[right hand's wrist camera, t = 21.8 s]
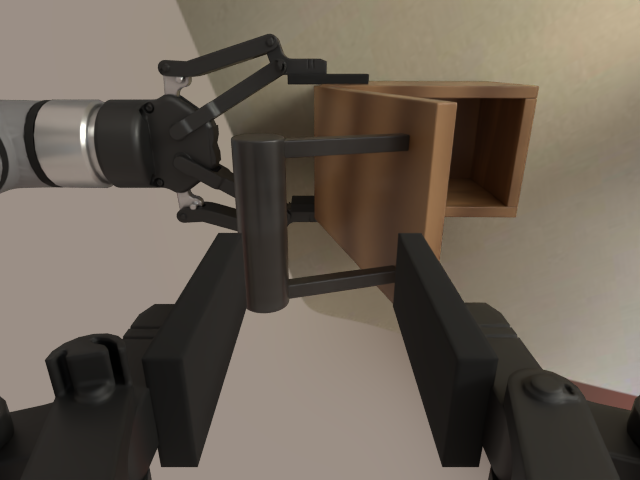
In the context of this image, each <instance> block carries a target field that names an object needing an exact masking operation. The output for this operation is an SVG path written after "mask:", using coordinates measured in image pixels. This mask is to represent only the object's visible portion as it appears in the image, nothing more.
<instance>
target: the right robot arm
mask: <svg viewBox="0 0 640 480" xmlns="http://www.w3.org/2000/svg"><path fill="white" fill-rule="evenodd" d="M246 308H247V300H246V286H245V272H244V258H243V244H242V233H218V235H217V236H216V238H215V240H214V241H213V243H212V245H211V246H210V248H209V249H208V251H207V253H206V254H205V256H204V258H203V259H202V261H201V262H200V264H199V266H198V267H197V269H196V270H195V272H194V274H193V275H192V277H191V279H190V280H189V282H188V283H187V285H186V287H185V289H184V290H183V292H182V293H181V295H180V297H179V298H178V300H177V301H176V303H175V304H154V305H153V306H151V307H150V308H148V309H147V310H145V311H144V312H142V313H141V314H139V316H138V317H137V318H136V320H135V321H134V322H133V324H132V325H131V328H130V329H128V331H127V332H126V333H125V335H124V336H123V339H121V338H120V337H119V336H116V335H112V334H91V335H87V336H83V337H78V338H76V339H74V340H71V341H69V342H66V343H64V344H63V345H61V346H60V347H58V348H57V349H55V350H54V351H52V352H51V354H50V355H49V356H48V357H47V358H46V360H45V362H46V366H47V369H48V372H49V376H50V380H51V383H52V387H53V390H54V394H55V400H54V402H53V403H49V404H46V405H42V406H37V407H33V408H28V409H23V410H18V411H14V412H9V410H8V407H7V404H6V401H5V400H4V399H3V398H1V397H0V480H152V479H151V473H150V468H149V466H150V464H151V462H152V459H153V457H154V455H155V452H156V450H157V448H158V452H159V458H160V463H161V467H198V464H199V461H200V457H201V454H202V451H203V448H204V444H205V441H206V438H207V435H208V431H209V428H210V425H211V421H212V418H213V415H214V412H215V409H216V405H217V402H218V399H219V395H220V392H221V389H222V386H223V382H224V379H225V376H226V373H227V369H228V366H229V363H230V360H231V356H232V353H233V350H234V347H235V343H236V340H237V337H238V334H239V330H240V327H241V324H242V321H243V317H244V314H245V311H246ZM393 308H394V311H395V314H396V317H397V321H398V324H399V327H400V330H401V334H402V337H403V340H404V343H405V347H406V350H407V353H408V356H409V360H410V363H411V366H412V369H413V373H414V376H415V379H416V382H417V385H418V389H419V392H420V395H421V399H422V402H423V405H424V409H425V412H426V415H427V418H428V422H429V425H430V428H431V431H432V434H433V438H434V441H435V444H436V448H437V451H438V454H439V457H440V461H441V464H442V467H479V463H480V458H481V452H482V447H483V448H484V450H485V452H486V455H487V457H488V459H489V462H490V464H491V468H490V473H489V478H488V480H640V395H639V396H638V397H637V398H636V399H635V401H634V404H633V407H632V410H631V411H630V410H626V409H621V408H617V407H612V406H607V405H603V404H598V403H594V402H591V401H587V400H586V399H585V397H584V395H583V394H582V392H581V391H580V390H579V388H578V387H577V386H576V385H574V384H573V383H572V382H570V381H569V380H568V379H566V378H564V377H562V376H560V375H558V374H556V373H554V372H550V371H547V370H543V369H542V368H541V367H540V365H539V364H538V363H537V361H536V360H535V359H534V357H533V356H532V354H531V353H530V352H529V350H528V349H527V348H526V346H525V345H524V344H523V342H522V341H521V340H520V338H517V334H516V333H515V331H514V330H513V329H512V327H510V325H509V323H508V322H507V321H506V319H505V318H504V317H503V315H502V314H501V313H500V312H499V311H497V310H496V309H494V308H493V307H491V306H490V305H488V304H487V303H464V301H463V300H462V298H461V296H460V295H459V293H458V292H457V290H456V288H455V287H454V285H453V283H452V282H451V280H450V279H449V277H448V275H447V274H446V272H445V270H444V269H443V267H442V266H441V264H440V262H439V261H438V259H437V257H436V256H435V254H434V253H433V251H432V249H431V248H430V246H429V244H428V243H427V241H426V240H425V238H424V236H423V235H422V233H398V244H397V258H396V272H395V286H394V300H393Z"/></svg>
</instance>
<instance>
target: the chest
mask: <svg viewBox="0 0 640 480" xmlns="http://www.w3.org/2000/svg"><path fill="white" fill-rule="evenodd" d="M321 86H331V87H339V88H347V89H355V90H363V91H371V92H379V93H387V94H395V95H402V96H410V97H418V98H426V99H434V100H442V101H450V102H456V103H457V110H456V119H455V128H454V137H453V145H452V154H451V163H450V172H449V180H448V189H447V198H446V207H445V216H444V217H516V213H517V207H518V202H519V196H520V191H521V185H522V179H523V174H524V168H525V163H526V157H527V151H528V146H529V140H530V135H531V129H532V123H533V118H534V112H535V107H536V101H537V99H536V98H537V95H538V89H539V86H532V85H521V84H510V83H499V82H488V81H369V82H368V84H321Z"/></svg>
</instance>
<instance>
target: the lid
mask: <svg viewBox="0 0 640 480" xmlns="http://www.w3.org/2000/svg"><path fill="white" fill-rule="evenodd" d="M456 110H457V103H456V102H450V101H442V100H434V99H426V98H418V97H410V96H402V95H395V94H387V93H379V92H371V91H363V90H355V89H347V88H339V87H331V86H314V137H302V138H284V136H282V135H278V134H269V133H253V134H242V135H236V136H234V137H232V138H231V146H232V160H233V174H234V187H235V201H236V214H237V228H238V233H242V244H243V258H244V272H245V286H246V300H247V308H246V309H248V310H250V311H252V312H256V313H271V312H276V311H279V310H281V309H283V308H284V307H286V306H287V304H288V302H289V299H290V298H297V297H304V296H310V295H317V294H324V293H331V292H337V291H344V290H351V289H357V288H364V287H371V286H377V287H378V288H379V289H380V290H381V291H382V292H383V293H384V294H385V295H386V297H387V298H388V299H389V300H390V301H391V302H392V303H393V300H394V286H395V272H396V258H397V244H398V233H422V235H423V236H424V238H425V240H426V241H427V243H428V244H429V246H430V248H431V249H432V251H433V253H434V254H435V256H436V257H437V259H438V261H439V259H440V251H441V242H442V233H443V224H444V216H445V207H446V198H447V189H448V180H449V172H450V163H451V154H452V145H453V137H454V128H455V119H456ZM312 156H314V178H315V219H316V220H317V221H318V222H319V223H320V225H321V226H322V227H323V228H324V229H325V230H326V231H327V232H328V233H329V234H330V235H331V237H332V238H333V239H334V240H335V241H336V242H337V243H338V244H339V245H340V246H341V247H342V249H343V250H344V251H345V252H346V253H347V254H348V255H349V256H350V257H351V258H352V259H353V261H354V262H355V263H356V264H357V265H358V266H359V267H360V268H361V269H360V270H353V271H346V272H338V273H331V274H324V275H316V276H309V277H302V278H294V279H289V274H288V239H287V204H286V168H285V158H295V157H312Z"/></svg>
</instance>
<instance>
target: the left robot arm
mask: <svg viewBox="0 0 640 480" xmlns="http://www.w3.org/2000/svg"><path fill="white" fill-rule="evenodd" d="M266 54H267V55H268V58H269V61H270V63H269V64H268V65H266V66H265V67H263V68H262V69H260V70H259V71H257V72H256V73H254V74H253V75H251V76H249V77H248V78H246V79H245V80H243V81H242V82H240V83H239V84H237V85H236V86H234V87H233V88H231V89H229V90H228V91H226V92H225V93H223V94H222V95H220V96H219V97H217V98H216V99H214V100H213V101H211V102H209V103H207V104H206V105H204V106H203V107H201V108H200V109H199V108H198V107H197V106H195V105H194V104H192V103H191V102H189V101H188V100H187V99H185V98H184V97H182V96H181V95H180V90H181V89H182V88H183V87H187V86H189V85H190V84H191V82H192V77H195V76H201V75H205V74H208V73H211V72H214V71H217V70H220V69H223V68H226V67H229V66H232V65H236V64H239V63H242V62H245V61H248V60H251V59H254V58H257V57H260V56H263V55H266ZM158 70H159V72H160V73H161V74H162V75H163V76H164V90H165V95H163V96H162V97H160V98H158V99H155V100H108V101H106V102H103V101H101V100H43V101H27V100H0V193H2V192H5V191H8V190H10V189H16V188H34V187H81V188H108V187H111V186H113V185H114V186H116V187H120V188H160V187H162V188H168V189H170V190H172V191H174V192H177V196H178V201H179V207H180V210H179V212H178V213H177V219H178V220H179V221H180V222H183V223H187V222H206V223H210V224H213V225H217V226H220V227H224V228H228V229H231V230H235V231H238V228H237V214H236V209H235V208H231V207H228V206H224V205H220V204H217V203H213V202H204V200H203V199H202V198H201V197H200V196H196V195H194V194H192V192H191V190H190V189H191V188H193V187H194V186H195V185H197V184H198V183H199V182H203V183H205V184H206V185H208V186H210V187H212V188H214V189H219V190H221V191H223V192H225V193H227V194H229V195H231V196H232V197H234V198H235V187H234V174H233V173H232V172H230V170H229V169H227V168H226V167H224V166H222V165H220V164H219V161H220V160H221V155H220V149H219V147H218V144H217V141H218V135H219V131H218V125H216V123H215V121H214V119H215V118H217V117H218V116H220V115H221V114H223V113H224V112H226V111H227V110H229V109H230V108H232V107H234V106H235V105H237V104H238V103H240V102H241V101H243V100H245V99H246V98H248V97H249V96H251V95H252V94H254V93H255V92H257V91H259V90H260V89H262V88H263V87H265V86H266V85H268V84H270V83H271V82H273V81H274V80H276V79H277V78H279V77H280V76H282V75H288V84H368V82H369V74H327V61H324V60H322V59H289V58H287V57H286V56H285V55H284V53H283V50H282V47H281V44H280V41H279V39H278V38H277V37H276V36H274V35H272V34H267V35H264V36H261V37H258V38H255V39H252V40H249V41H246V42H243V43H240V44H237V45H234V46H231V47H228V48H225V49H222V50H219V51H216V52H213V53H210V54H207V55H204V56H201V57H198V58H195V59H192V60H189V61H171V60H163V61H161V62H160V63H159V64H158ZM286 204H287V227H288V225H289V224H290V223H292V222H318V221H317V220H316V219H315V196H292V201H291V203H290V202H289V204H288V203H286Z"/></svg>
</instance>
